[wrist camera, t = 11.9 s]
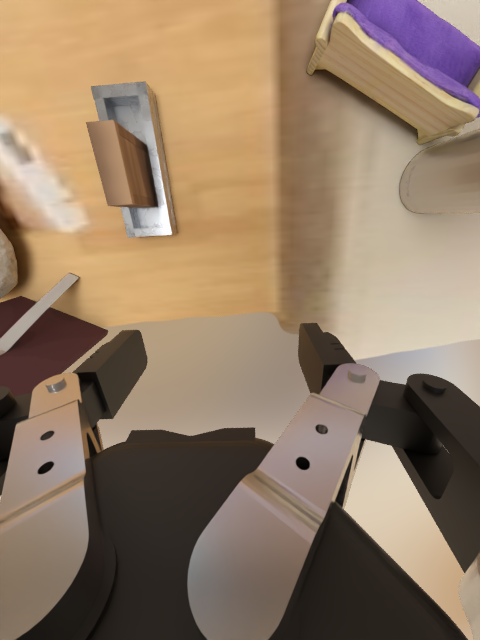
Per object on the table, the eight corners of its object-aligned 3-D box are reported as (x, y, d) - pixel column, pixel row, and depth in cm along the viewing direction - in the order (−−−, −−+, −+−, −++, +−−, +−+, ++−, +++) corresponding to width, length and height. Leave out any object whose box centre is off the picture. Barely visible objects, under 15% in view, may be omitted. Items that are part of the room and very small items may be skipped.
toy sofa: (467, 79, 32) (561, 21, 22) (422, 149, 35) (488, 125, 26) (336, -15, 28) (383, -129, 19) (300, 72, 32) (325, 11, 22)
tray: (155, 94, 32) (145, 81, 29) (177, 233, 40) (171, 234, 36) (105, 99, 33) (90, 86, 29) (136, 235, 40) (127, 237, 37)
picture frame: (20, 300, 45) (-211, 389, 22) (25, 253, 41) (-244, 300, 18) (107, 335, 48) (-17, 444, 25) (119, 293, 44) (-13, 376, 21)
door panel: (148, 145, 34) (114, 119, 25) (159, 206, 37) (132, 204, 28) (127, 147, 34) (85, 122, 25) (140, 208, 37) (107, 205, 28)
